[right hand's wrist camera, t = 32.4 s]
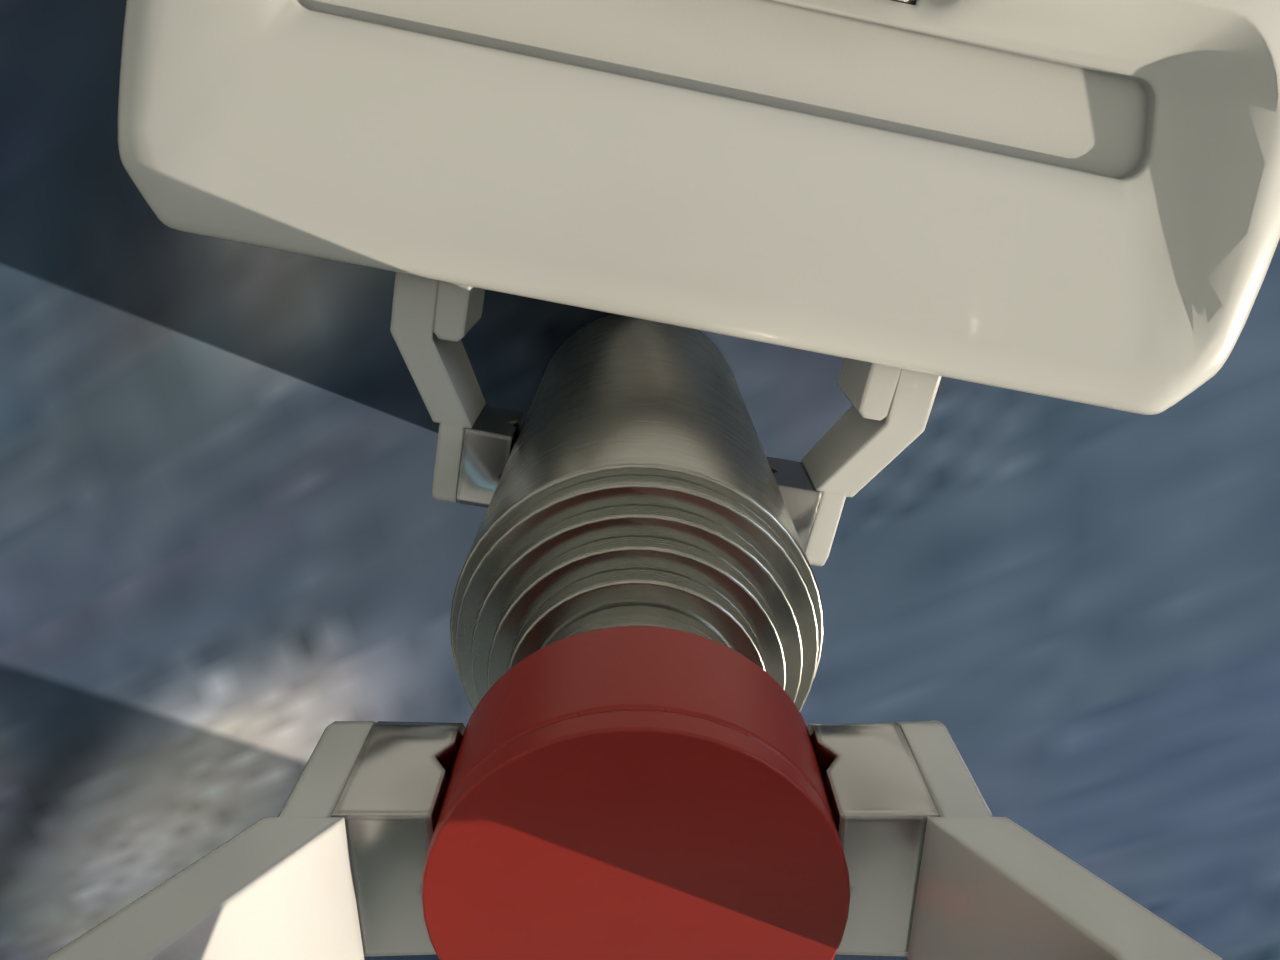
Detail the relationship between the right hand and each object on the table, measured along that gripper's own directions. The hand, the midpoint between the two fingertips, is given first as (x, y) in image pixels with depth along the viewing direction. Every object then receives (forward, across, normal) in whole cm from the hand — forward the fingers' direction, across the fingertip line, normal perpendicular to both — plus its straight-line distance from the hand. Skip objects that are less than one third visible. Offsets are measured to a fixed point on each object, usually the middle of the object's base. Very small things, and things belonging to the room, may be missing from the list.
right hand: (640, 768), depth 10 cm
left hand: (+9, 0, -1) cm, 9 cm away
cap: (-2, 0, 0) cm, 2 cm away
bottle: (+15, 0, 0) cm, 15 cm away
